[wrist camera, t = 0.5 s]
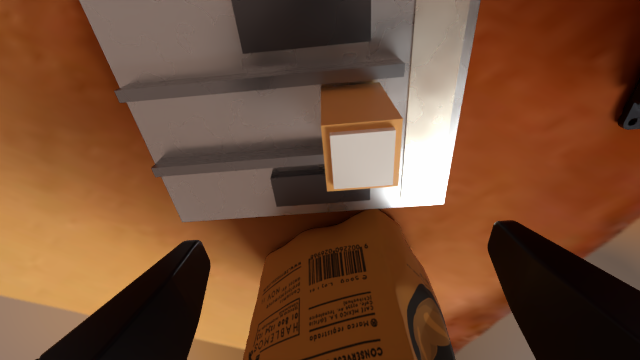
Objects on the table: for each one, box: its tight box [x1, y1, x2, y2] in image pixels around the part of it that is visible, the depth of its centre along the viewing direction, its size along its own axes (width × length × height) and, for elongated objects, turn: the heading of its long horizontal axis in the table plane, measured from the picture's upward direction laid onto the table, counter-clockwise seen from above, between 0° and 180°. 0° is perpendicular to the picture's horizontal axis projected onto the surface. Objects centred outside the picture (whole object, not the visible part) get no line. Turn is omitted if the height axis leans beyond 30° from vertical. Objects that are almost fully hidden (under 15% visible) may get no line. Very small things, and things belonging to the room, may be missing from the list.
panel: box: [79, 0, 480, 222], centre depth 16 cm, size 18×14×3 cm
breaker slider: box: [321, 82, 403, 192], centre depth 13 cm, size 3×3×5 cm
